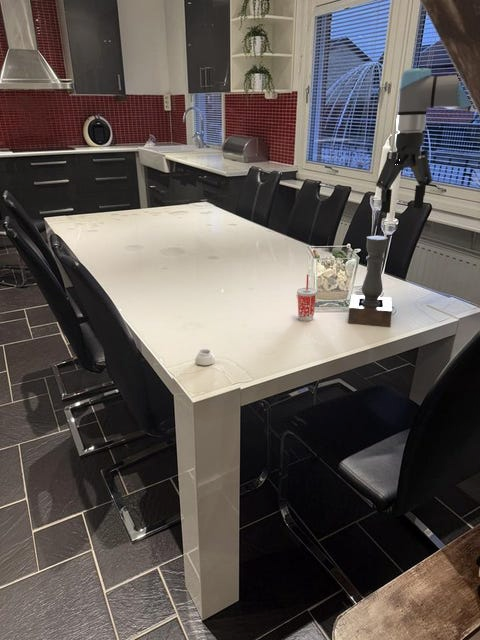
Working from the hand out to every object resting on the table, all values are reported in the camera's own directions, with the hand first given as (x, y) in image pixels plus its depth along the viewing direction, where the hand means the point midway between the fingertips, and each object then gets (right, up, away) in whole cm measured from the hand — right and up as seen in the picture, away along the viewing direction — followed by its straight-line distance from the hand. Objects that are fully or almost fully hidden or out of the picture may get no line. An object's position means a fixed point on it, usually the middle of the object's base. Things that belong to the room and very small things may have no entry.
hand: (401, 210), depth 137 cm
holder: (-7, -32, +8) cm, 33 cm away
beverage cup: (-27, -32, +8) cm, 43 cm away
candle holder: (-7, -32, +8) cm, 33 cm away
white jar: (-56, -43, -19) cm, 73 cm away
